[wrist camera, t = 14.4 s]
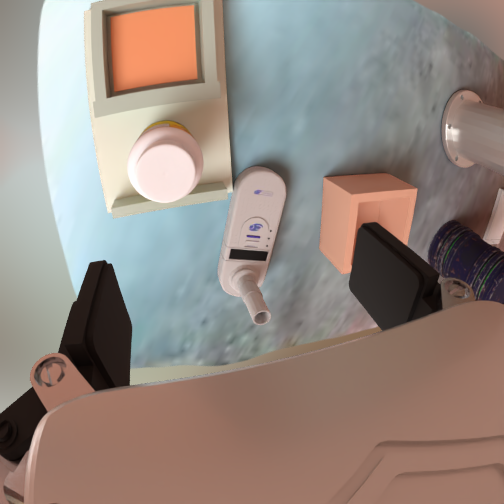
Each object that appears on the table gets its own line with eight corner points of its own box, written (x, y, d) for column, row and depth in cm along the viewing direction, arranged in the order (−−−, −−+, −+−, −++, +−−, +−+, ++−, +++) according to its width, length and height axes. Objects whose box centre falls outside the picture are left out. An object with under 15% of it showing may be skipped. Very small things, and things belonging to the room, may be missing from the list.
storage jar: (421, 274, 48) (477, 325, 35) (433, 224, 43) (500, 272, 30) (455, 261, 50) (506, 305, 37) (466, 216, 45) (526, 256, 32)
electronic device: (325, 196, 24) (280, 337, 30) (283, 169, 33) (254, 285, 39) (265, 186, 23) (230, 339, 29) (236, 161, 31) (213, 284, 37)
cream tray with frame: (220, -6, 21) (227, -17, 18) (231, 189, 32) (238, 200, 29) (86, 13, 18) (77, 5, 15) (109, 210, 29) (104, 222, 26)
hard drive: (503, 189, 44) (485, 245, 49) (516, 193, 46) (499, 244, 52) (497, 186, 45) (479, 241, 51) (510, 191, 47) (494, 240, 53)
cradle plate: (193, 8, 20) (194, 5, 20) (196, 79, 24) (197, 78, 23) (112, 19, 19) (110, 17, 18) (116, 92, 23) (114, 91, 22)
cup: (386, 173, 36) (417, 188, 31) (377, 237, 41) (403, 259, 36) (323, 177, 34) (351, 194, 29) (319, 248, 39) (342, 274, 34)
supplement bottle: (200, 165, 29) (217, 200, 20) (146, 183, 28) (139, 226, 19) (186, 111, 26) (197, 120, 17) (129, 129, 25) (110, 148, 16)
